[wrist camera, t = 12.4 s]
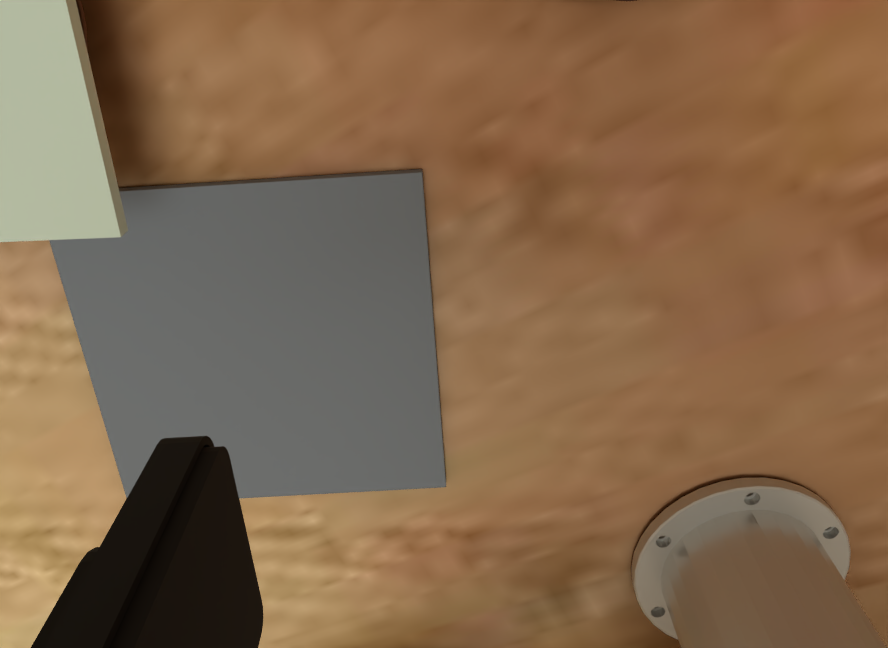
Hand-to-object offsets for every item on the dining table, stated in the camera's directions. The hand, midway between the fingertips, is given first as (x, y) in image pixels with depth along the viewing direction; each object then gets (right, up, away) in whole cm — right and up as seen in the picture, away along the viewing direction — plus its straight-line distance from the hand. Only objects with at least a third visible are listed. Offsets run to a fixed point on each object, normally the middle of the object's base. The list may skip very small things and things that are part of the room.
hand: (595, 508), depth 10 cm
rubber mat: (-11, +1, +31) cm, 33 cm away
